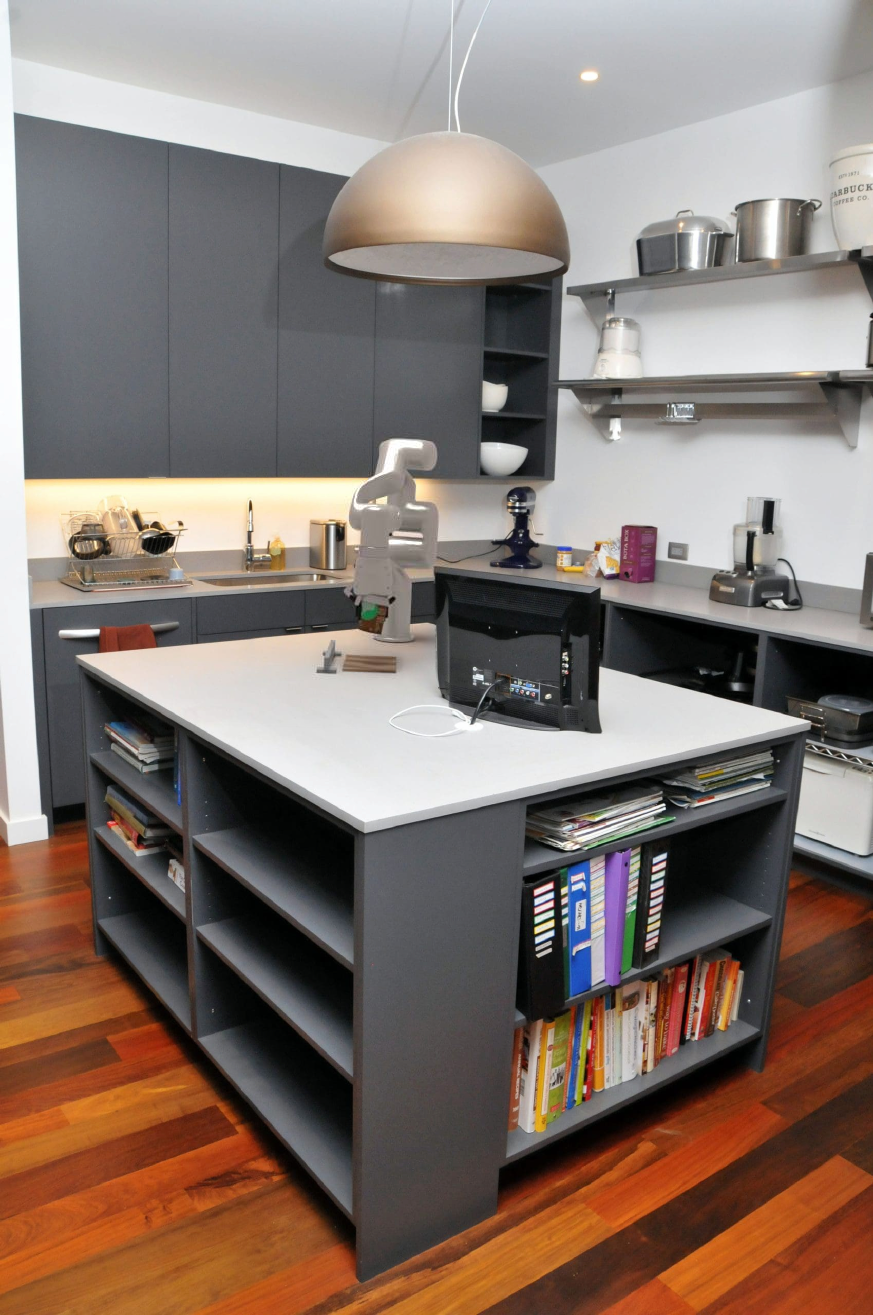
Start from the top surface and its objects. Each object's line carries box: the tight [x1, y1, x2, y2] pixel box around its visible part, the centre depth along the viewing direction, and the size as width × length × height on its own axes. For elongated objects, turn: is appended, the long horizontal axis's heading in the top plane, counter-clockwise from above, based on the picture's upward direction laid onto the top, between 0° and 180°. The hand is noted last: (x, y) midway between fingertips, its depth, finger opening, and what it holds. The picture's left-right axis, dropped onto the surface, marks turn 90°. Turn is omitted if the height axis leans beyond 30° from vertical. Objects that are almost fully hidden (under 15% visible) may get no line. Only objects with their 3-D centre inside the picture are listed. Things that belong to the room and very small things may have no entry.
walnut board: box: [342, 654, 397, 674], centre depth 272 cm, size 18×14×1 cm
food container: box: [358, 594, 389, 635], centre depth 268 cm, size 12×6×10 cm, turn 20°
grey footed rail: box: [316, 639, 343, 674], centre depth 271 cm, size 24×5×4 cm, turn 2°
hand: (371, 619), depth 269 cm, fingers closed on food container, 6 cm apart
